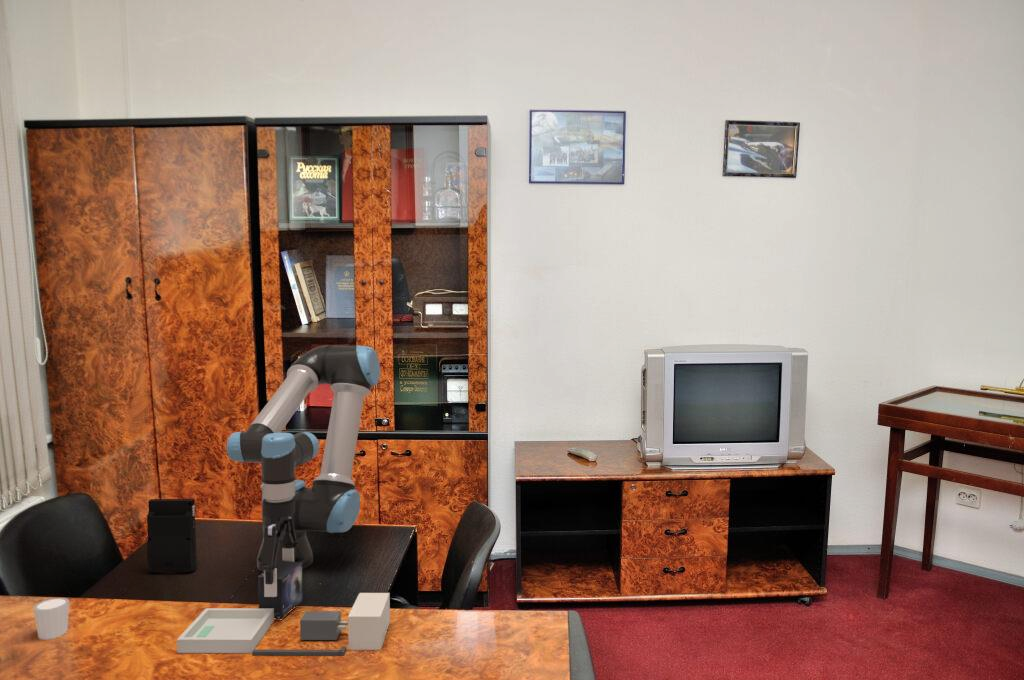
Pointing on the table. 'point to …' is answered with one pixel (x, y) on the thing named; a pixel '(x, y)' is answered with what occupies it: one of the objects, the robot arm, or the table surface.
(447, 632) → the table surface
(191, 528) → the black upright device
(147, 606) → the table surface
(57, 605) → the white cylinder
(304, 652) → the grey thin bar
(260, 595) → the small box
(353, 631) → the socket
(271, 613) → the dock
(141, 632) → the table surface
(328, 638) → the plug
